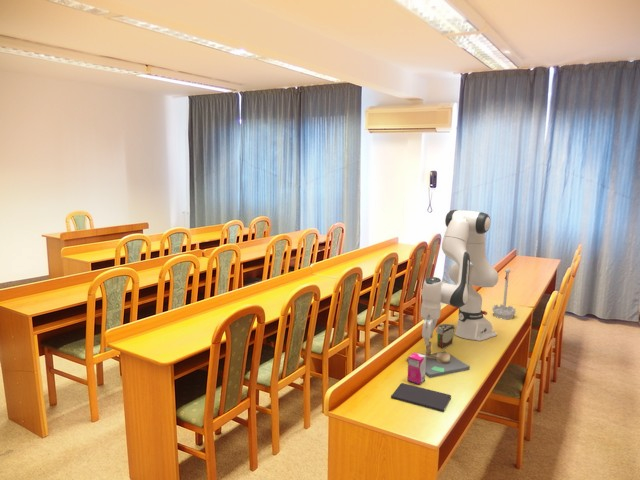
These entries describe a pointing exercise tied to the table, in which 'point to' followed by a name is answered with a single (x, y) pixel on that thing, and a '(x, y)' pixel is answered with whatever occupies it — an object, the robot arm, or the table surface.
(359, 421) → the table surface
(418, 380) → the supplement box
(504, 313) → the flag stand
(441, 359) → the tan wooden handled piece
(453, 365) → the flat gray board
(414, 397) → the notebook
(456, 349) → the table surface
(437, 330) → the brown cream half-round block
